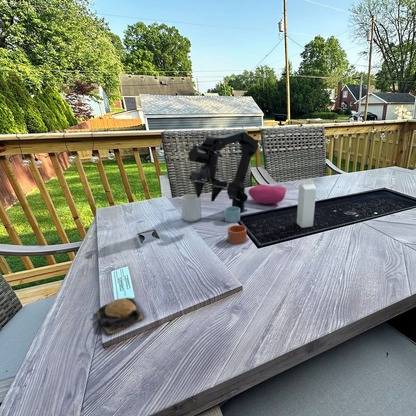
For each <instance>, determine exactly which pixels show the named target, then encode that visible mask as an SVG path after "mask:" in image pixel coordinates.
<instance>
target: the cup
mask: <svg viewBox="0 0 416 416" xmlns="http://www.w3.org/2000/svg"><path fill="white" fill-rule="evenodd" d="M227 241H228V243H230V244H232V245H233V244H234V245H239V244H243V243H245V242H246V241H247V227H246V226H244V225H241V224H235V225H230V226H228V228H227Z"/></svg>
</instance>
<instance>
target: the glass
mask: <svg viewBox="0 0 416 416" xmlns="http://www.w3.org/2000/svg"><path fill="white" fill-rule="evenodd" d="M223 211H224V213H223V214H224V221H225V222H226V223H227V222H228V223H237V222H239V221H241V213H240V208H239V207H234V206H232V205H231V206H227V207H224V210H223Z"/></svg>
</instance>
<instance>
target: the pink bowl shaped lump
mask: <svg viewBox="0 0 416 416" xmlns="http://www.w3.org/2000/svg"><path fill="white" fill-rule="evenodd" d="M286 192H287V189H286V187H283V186H276V185H267V184H257V185H255V186H252V187H251V188H249V189H248V195H249V196H250V198H251V199H252V201H254V202H256V203H258V204H265V205H269V204H277V203H278V204H279V203H281V202H282V201H283V200H284V199H285V196H286Z"/></svg>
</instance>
